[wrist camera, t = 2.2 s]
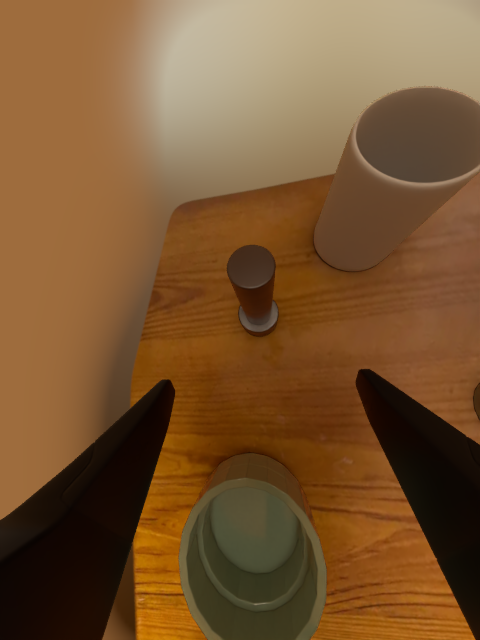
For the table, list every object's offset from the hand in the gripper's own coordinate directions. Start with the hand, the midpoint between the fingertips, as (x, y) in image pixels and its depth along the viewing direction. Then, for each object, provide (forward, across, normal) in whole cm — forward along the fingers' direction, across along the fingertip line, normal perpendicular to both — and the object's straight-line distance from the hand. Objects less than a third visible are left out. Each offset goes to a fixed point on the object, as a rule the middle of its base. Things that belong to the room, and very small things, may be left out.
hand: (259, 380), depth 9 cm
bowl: (0, +2, +17) cm, 18 cm away
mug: (+20, -13, -2) cm, 24 cm away
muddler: (+13, 0, +4) cm, 13 cm away
